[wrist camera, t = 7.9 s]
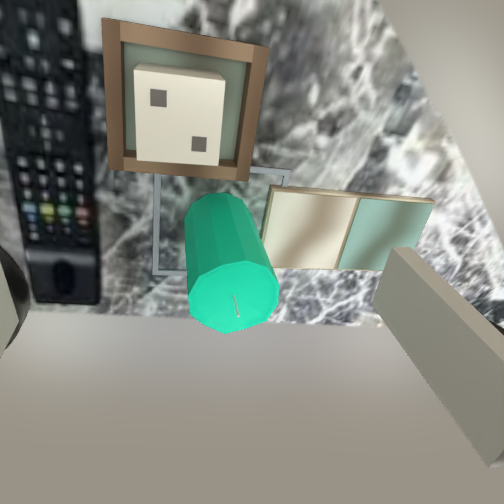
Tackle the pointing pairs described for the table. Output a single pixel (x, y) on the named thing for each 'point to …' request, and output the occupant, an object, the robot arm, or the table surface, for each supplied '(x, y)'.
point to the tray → (193, 56)
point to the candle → (227, 265)
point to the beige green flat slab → (339, 227)
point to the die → (178, 114)
